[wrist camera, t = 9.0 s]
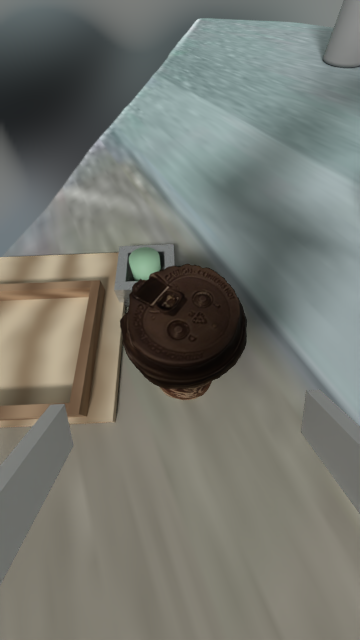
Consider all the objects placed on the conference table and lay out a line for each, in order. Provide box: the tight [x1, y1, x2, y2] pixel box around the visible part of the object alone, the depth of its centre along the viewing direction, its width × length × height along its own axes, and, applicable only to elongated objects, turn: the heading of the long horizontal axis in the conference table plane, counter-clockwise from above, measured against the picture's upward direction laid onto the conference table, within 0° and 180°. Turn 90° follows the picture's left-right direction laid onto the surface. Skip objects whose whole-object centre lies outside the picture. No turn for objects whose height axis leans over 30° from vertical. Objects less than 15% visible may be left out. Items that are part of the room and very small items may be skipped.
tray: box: [0, 253, 125, 428], centre depth 27 cm, size 18×22×3 cm
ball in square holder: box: [114, 244, 175, 307], centre depth 29 cm, size 7×7×4 cm
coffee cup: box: [120, 264, 247, 400], centre depth 19 cm, size 9×8×13 cm
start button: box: [129, 247, 161, 281], centre depth 28 cm, size 4×4×4 cm
